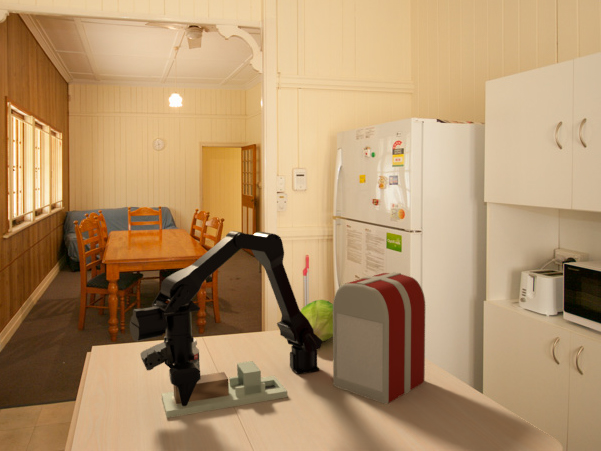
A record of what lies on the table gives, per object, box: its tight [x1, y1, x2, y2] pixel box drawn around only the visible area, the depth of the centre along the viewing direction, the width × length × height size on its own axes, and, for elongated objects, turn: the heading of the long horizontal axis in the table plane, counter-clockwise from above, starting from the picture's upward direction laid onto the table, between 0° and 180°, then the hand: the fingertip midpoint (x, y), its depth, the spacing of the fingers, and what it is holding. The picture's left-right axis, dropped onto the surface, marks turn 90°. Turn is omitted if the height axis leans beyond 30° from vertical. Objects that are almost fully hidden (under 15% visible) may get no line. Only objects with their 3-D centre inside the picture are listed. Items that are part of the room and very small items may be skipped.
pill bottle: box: [190, 337, 201, 370], centre depth 139 cm, size 6×6×10 cm
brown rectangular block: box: [172, 371, 229, 404], centre depth 124 cm, size 12×4×4 cm, turn 110°
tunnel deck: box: [161, 360, 288, 419], centre depth 126 cm, size 28×10×7 cm, turn 110°
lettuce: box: [300, 299, 333, 342], centre depth 166 cm, size 13×23×12 cm, turn 170°
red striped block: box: [332, 271, 426, 405], centre depth 132 cm, size 17×18×27 cm
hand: (181, 397), depth 123 cm, fingers open, 8 cm apart
